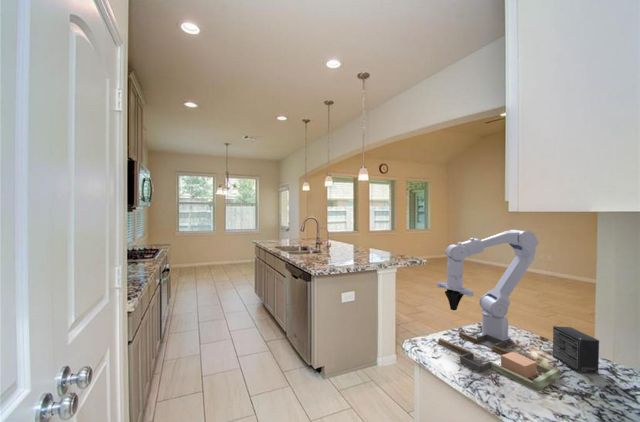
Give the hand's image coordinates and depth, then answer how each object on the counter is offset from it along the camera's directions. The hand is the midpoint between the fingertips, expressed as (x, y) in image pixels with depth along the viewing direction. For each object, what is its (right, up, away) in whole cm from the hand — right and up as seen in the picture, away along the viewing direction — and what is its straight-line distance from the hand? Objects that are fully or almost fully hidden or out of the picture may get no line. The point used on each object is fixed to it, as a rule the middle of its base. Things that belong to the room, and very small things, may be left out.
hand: (453, 309), depth 112 cm
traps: (+4, -10, -14) cm, 18 cm away
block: (+9, -11, -24) cm, 28 cm away
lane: (+5, -11, -17) cm, 21 cm away
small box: (+30, -11, -20) cm, 38 cm away
